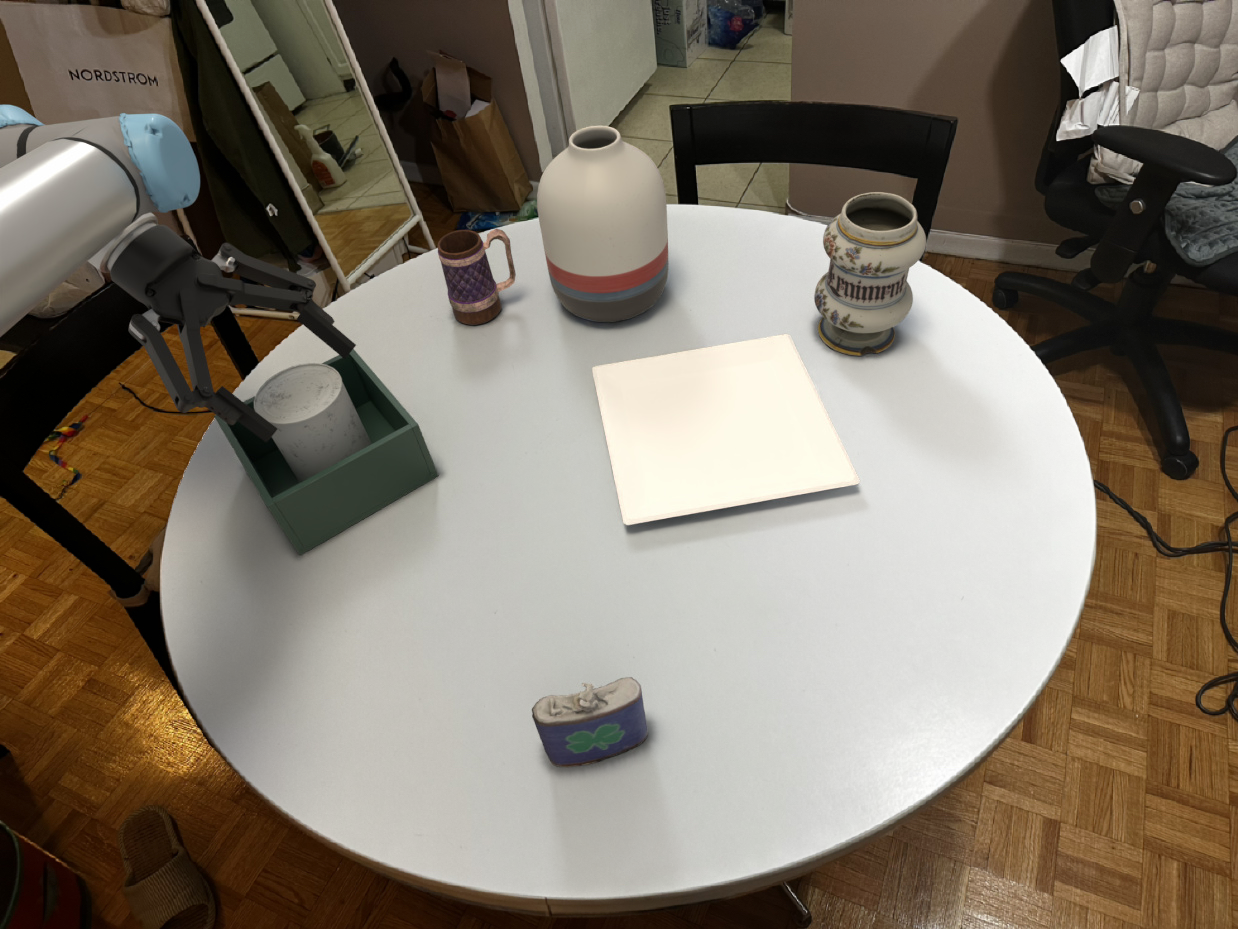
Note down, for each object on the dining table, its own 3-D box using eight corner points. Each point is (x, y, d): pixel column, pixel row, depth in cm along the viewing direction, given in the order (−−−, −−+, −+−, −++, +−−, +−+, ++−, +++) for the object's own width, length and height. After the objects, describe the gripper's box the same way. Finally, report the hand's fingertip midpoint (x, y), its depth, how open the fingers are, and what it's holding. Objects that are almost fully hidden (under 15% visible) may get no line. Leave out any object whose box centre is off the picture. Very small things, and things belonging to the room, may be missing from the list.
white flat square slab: (625, 535, 85) (623, 524, 83) (593, 377, 102) (591, 365, 101) (858, 494, 86) (861, 482, 84) (787, 344, 103) (789, 331, 102)
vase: (679, 265, 117) (675, 107, 99) (657, 337, 106) (648, 175, 89) (571, 258, 120) (548, 104, 103) (539, 327, 110) (507, 169, 92)
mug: (456, 331, 111) (434, 258, 102) (451, 301, 116) (430, 230, 107) (526, 316, 112) (511, 243, 103) (519, 287, 117) (504, 215, 108)
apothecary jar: (832, 370, 99) (852, 248, 86) (796, 314, 107) (809, 194, 94) (921, 350, 100) (954, 225, 87) (878, 296, 108) (903, 174, 95)
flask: (644, 717, 71) (636, 662, 63) (652, 748, 69) (645, 695, 61) (544, 742, 70) (524, 690, 62) (550, 774, 68) (529, 725, 60)
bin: (300, 555, 87) (266, 506, 80) (247, 466, 97) (213, 415, 90) (438, 475, 93) (418, 424, 86) (375, 399, 103) (352, 347, 96)
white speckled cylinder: (333, 429, 99) (294, 354, 89) (393, 450, 95) (359, 375, 86) (281, 483, 93) (234, 409, 84) (342, 507, 90) (301, 433, 81)
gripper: (214, 204, 87) (367, 335, 94) (29, 343, 73) (226, 486, 79) (229, 165, 82) (390, 307, 88) (31, 307, 67) (243, 464, 74)
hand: (313, 392), depth 84 cm, fingers open, 13 cm apart
